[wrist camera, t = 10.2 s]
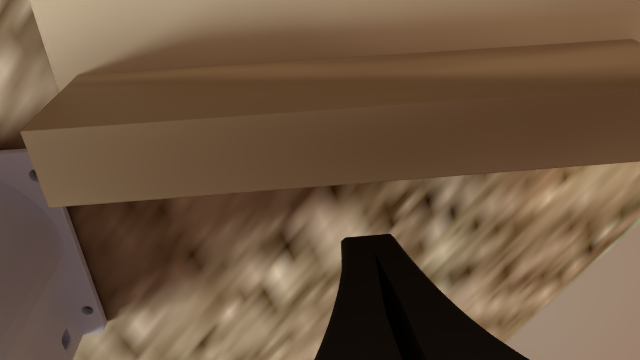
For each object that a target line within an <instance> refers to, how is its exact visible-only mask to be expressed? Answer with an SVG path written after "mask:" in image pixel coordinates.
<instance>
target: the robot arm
mask: <svg viewBox="0 0 640 360" xmlns="http://www.w3.org/2000/svg"><path fill="white" fill-rule="evenodd" d="M33 170H34V167H33V164H32V162H31V159H30V156H29V154H28V151H27V149H13V150H0V360H73V358H74V355H75V353H76V350H77V348H78V346H79V343H80V341H81V338H82V336H83V334H94V333H100V332H102V331H103V330H104V328H105V326H106V323H107V320H106V317H105V314H104V311H103V308H102V306H101V303H100V300H99V297H98V295H97V292H96V289H95V286H94V283H93V281H92V278H91V275H90V272H89V269H88V267H87V264H86V261H85V258H84V255H83V253H82V250H81V247H80V244H79V241H78V239H77V236H76V233H75V230H74V228H73V225H72V222H71V219H70V216H69V214H68V211H67V208H66V206H64V207H52V208H49V206H48V204H47V201H46V199H45V196H44V193H43V191H42V188H41V185H40V183H39V180H38V177H37V175H36V174H35V173H34V172H33ZM341 255H342V272H341V278H340V283H339V289H338V293H337V297H336V301H335V305H334V308H333V312H332V315H331V318H330V321H329V324H328V327H327V330H326V333H325V335H324V338H323V341H322V343H321V345H320V348H319V350H318V352H317V355H316V357H315V359H314V360H529V359H528V358H526V357H524V356H523V355H521V354H519V353H518V352H516V351H515V350H513V349H512V348H510V347H509V346H507V345H506V344H504V343H503V342H501V341H500V340H498V339H497V338H495V337H494V336H493V335H491V334H490V333H489V332H487V331H486V330H485V329H483V328H482V327H481V326H479V325H478V324H477V323H476V322H475V321H473V320H472V319H471V318H470V317H468V316H467V315H466V314H465V313H464V312H463V311H461V310H460V309H459V308H458V307H457V306H456V305H455V304H454V303H453V302H452V301H451V300H449V299H448V298H447V297H446V296H445V295H444V294H443V293H442V292H441V291H440V290H439V289H438V288H437V287H436V286H435V285H434V284H433V283H432V282H431V280H430V279H429V278H428V277H427V276H426V275H425V274H424V273H423V272H422V271H421V270H420V269H419V267H418V266H417V265H416V264H415V263H414V262H413V261H412V259H411V258H410V257H409V256H408V255H407V253H406V252H405V251H404V250H403V248H402V247H401V246H400V245H399V243H398V242H397V241H396V239H395V238H394V237H393V236H392V235H391V234H383V235H371V236H359V237H346V238H344V239H343V240H342V241H341ZM85 306H89V307H91V308H87V307H85Z"/></svg>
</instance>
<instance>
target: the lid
mask: <svg viewBox="0 0 640 360" xmlns="http://www.w3.org/2000/svg"><path fill="white" fill-rule="evenodd" d="M30 3H31V6H32V9H33V12H34V15H35V18H36V22H37V25H38V28H39V31H40V34H41V37H42V40H43V43H44V46H45V50H46V53H47V56H48V59H49V62H50V65H51V68H52V71H53V74H54V78H55V81H56V84H57V87H58V90H59V94H58V95H57V96H56V97H54V98H53V99H52V100H51V101H50V102H49V103H48V104H47V105H46V106H45V107H44V108H43V109H42V110H41V111H40V112H39V113H38V114H37V115H36V116H35V117H34V118H33V119H32V120H31V121H30V122H29V123H28V124H27V125H26V126H25V127H24V128H23V129H22V130H21V131H20V133H21V135H22V138H23V141H24V143H25V146H26V148H27V151H28V154H29V156H30V159H31V162H32V164H33V167H34V170H35V172H36V175H37V177H38V180H39V183H40V185H41V188H42V191H43V193H44V196H45V199H46V201H47V204H48V206H49V208H52V207H64V206H77V205H90V204H103V203H115V202H128V201H141V200H154V199H166V198H179V197H192V196H205V195H217V194H230V193H243V192H256V191H268V190H281V189H294V188H307V187H319V186H332V185H345V184H358V183H370V182H383V181H396V180H409V179H421V178H434V177H447V176H460V175H472V174H485V173H498V172H511V171H523V170H536V169H549V168H562V167H574V166H587V165H600V164H613V163H625V162H638V161H640V0H30Z"/></svg>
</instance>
